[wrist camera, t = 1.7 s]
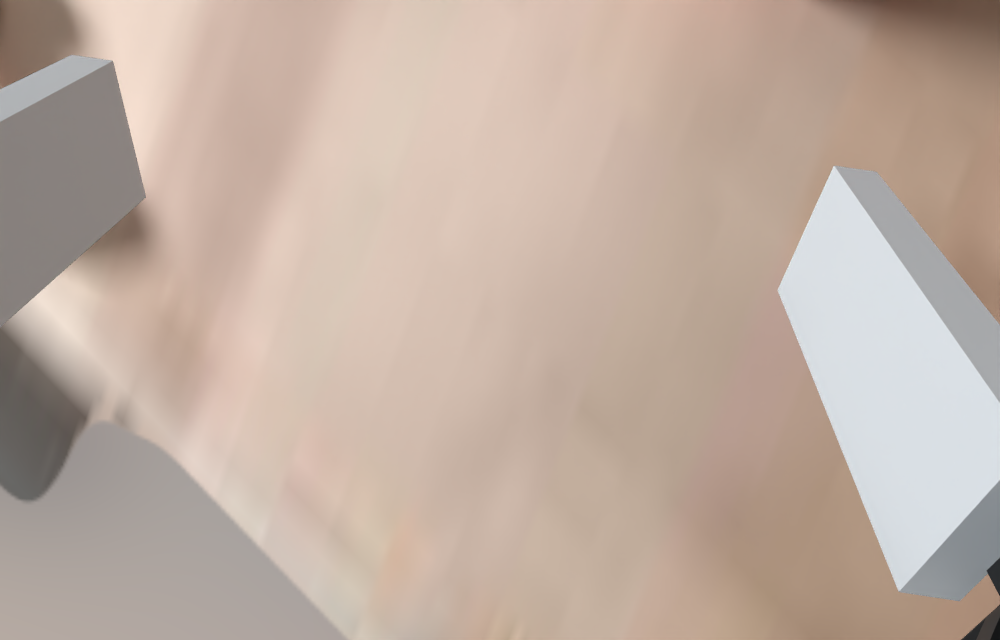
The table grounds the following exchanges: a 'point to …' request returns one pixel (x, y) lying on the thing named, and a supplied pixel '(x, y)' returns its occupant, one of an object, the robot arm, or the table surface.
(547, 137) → the table surface
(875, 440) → the robot arm
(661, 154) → the table surface
